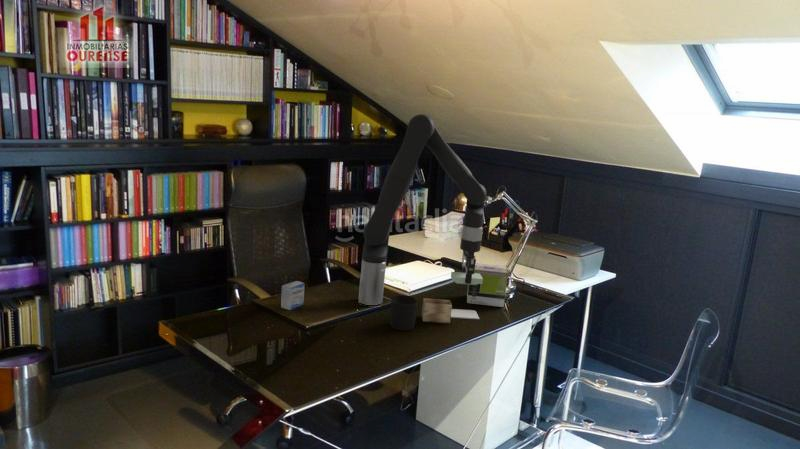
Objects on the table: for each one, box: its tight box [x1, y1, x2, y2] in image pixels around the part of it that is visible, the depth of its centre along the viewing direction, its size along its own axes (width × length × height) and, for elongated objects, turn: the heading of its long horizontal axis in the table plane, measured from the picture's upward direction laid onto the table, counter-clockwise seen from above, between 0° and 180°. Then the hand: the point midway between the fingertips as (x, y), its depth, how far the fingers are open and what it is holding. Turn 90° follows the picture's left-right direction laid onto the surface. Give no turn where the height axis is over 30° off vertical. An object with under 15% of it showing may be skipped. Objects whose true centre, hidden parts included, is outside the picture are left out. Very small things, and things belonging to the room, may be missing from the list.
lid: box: [450, 271, 483, 285], centre depth 227 cm, size 11×6×3 cm, turn 94°
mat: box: [451, 308, 480, 320], centre depth 230 cm, size 12×8×1 cm, turn 94°
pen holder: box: [389, 294, 419, 332], centre depth 213 cm, size 9×9×10 cm
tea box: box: [466, 262, 509, 308], centre depth 245 cm, size 15×10×15 cm
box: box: [421, 298, 453, 324], centre depth 222 cm, size 10×5×7 cm, turn 94°
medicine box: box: [280, 280, 306, 311], centre depth 221 cm, size 8×4×9 cm, turn 150°
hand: (466, 280), depth 227 cm, fingers closed on lid, 6 cm apart
